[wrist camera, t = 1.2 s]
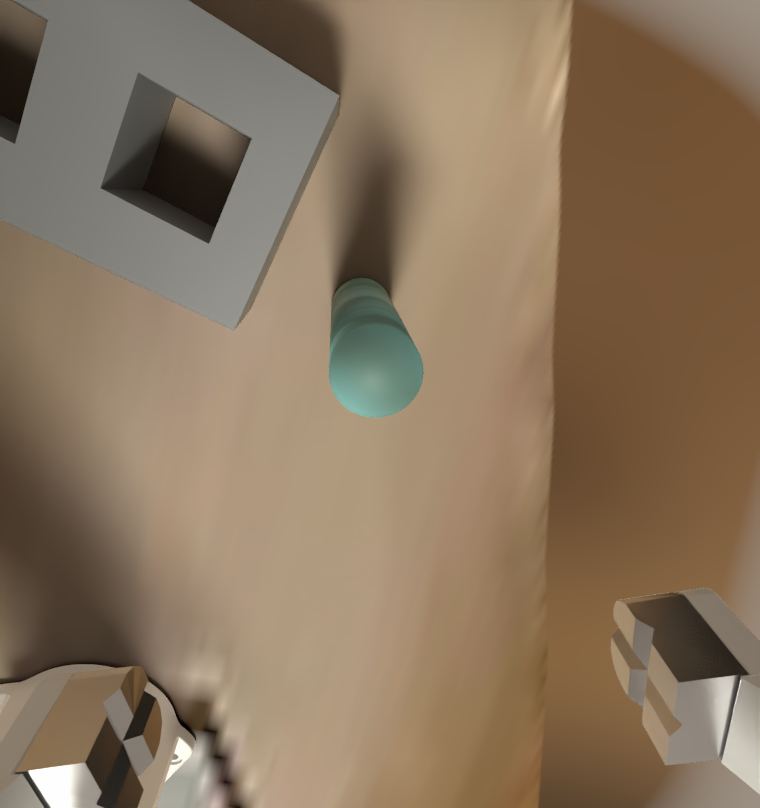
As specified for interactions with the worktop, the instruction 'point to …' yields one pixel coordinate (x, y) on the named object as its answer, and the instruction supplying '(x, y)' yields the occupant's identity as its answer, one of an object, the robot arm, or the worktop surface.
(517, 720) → the worktop surface
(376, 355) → the teal peg
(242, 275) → the socket block
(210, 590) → the worktop surface
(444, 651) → the worktop surface
